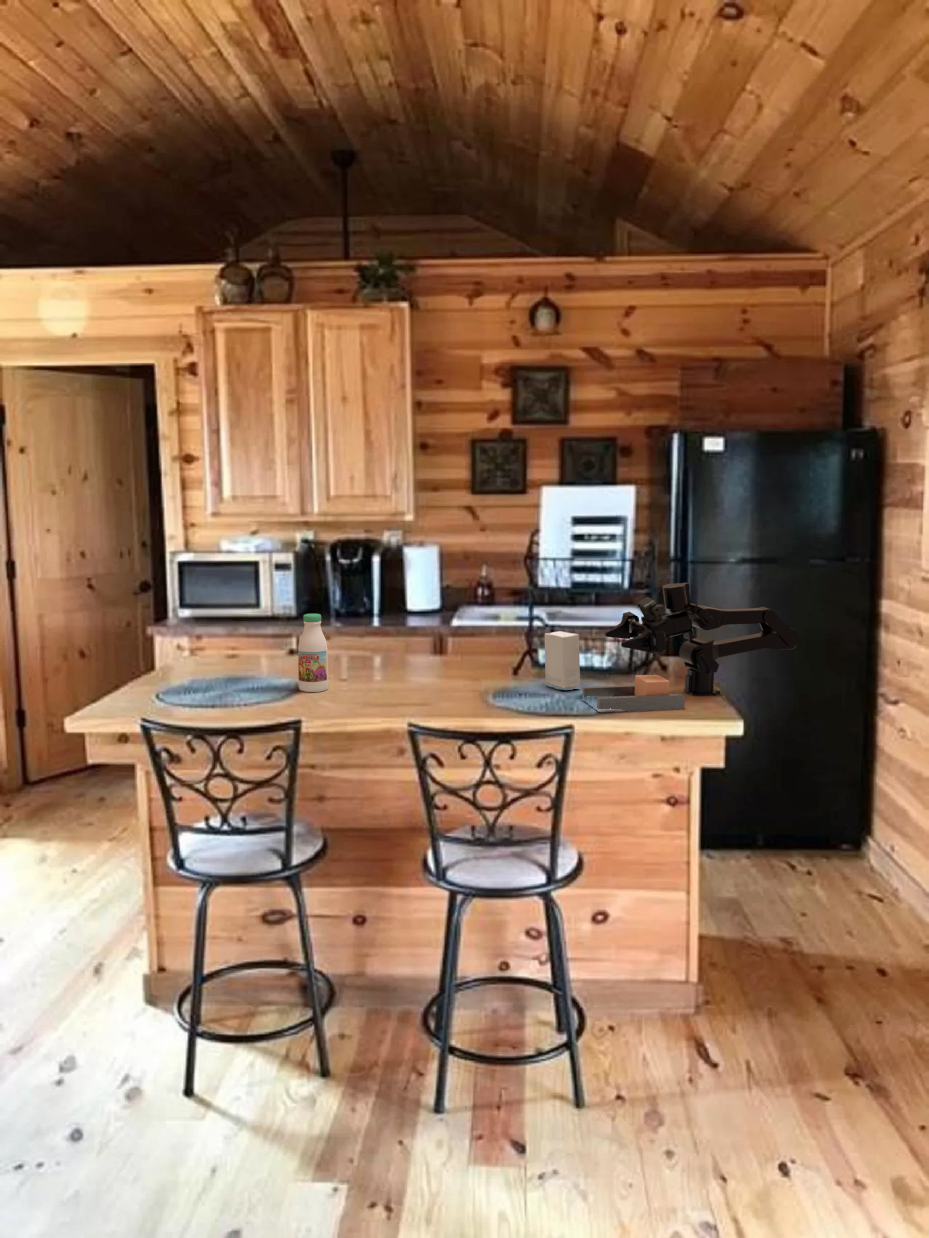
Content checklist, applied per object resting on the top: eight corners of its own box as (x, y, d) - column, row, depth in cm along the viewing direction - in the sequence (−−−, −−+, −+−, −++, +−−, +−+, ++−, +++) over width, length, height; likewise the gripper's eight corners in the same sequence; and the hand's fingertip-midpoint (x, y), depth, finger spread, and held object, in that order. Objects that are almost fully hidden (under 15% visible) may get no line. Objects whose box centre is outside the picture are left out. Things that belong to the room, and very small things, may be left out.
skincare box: (580, 689, 275) (581, 634, 273) (562, 692, 272) (563, 636, 269) (560, 683, 282) (561, 629, 280) (543, 686, 279) (544, 631, 276)
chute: (663, 696, 267) (664, 683, 267) (684, 709, 255) (684, 695, 254) (582, 700, 263) (582, 687, 262) (598, 713, 250) (599, 698, 250)
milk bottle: (301, 686, 277) (299, 612, 274) (330, 686, 277) (328, 612, 274) (296, 692, 270) (295, 616, 266) (326, 692, 270) (325, 616, 267)
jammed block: (656, 693, 264) (657, 674, 263) (669, 701, 256) (669, 681, 256) (634, 694, 263) (635, 675, 262) (646, 702, 255) (646, 682, 254)
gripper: (649, 587, 272) (594, 600, 268) (684, 605, 255) (627, 619, 251) (652, 627, 276) (599, 640, 272) (687, 647, 259) (631, 662, 255)
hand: (613, 639), depth 262 cm, fingers open, 9 cm apart
